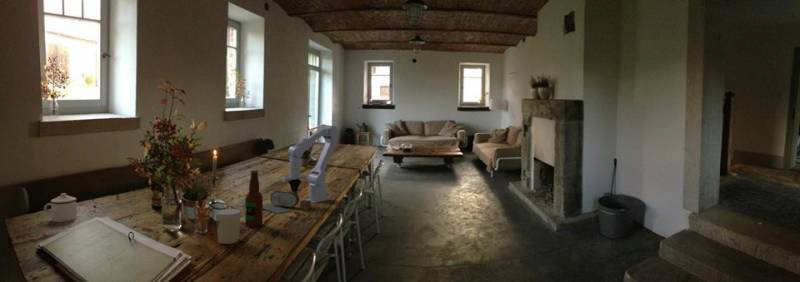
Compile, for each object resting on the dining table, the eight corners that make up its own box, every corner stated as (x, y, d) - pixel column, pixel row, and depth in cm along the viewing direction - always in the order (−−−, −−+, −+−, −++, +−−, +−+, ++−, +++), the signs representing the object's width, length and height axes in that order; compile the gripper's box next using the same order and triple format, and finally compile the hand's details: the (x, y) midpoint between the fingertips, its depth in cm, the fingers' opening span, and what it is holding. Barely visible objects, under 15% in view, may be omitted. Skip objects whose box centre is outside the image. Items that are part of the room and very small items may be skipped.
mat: (271, 204, 227) (271, 203, 227) (291, 211, 216) (291, 210, 216) (257, 206, 221) (257, 206, 221) (277, 214, 210) (277, 213, 210)
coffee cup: (220, 236, 174) (220, 208, 173) (243, 236, 175) (243, 208, 174) (212, 244, 165) (212, 214, 164) (236, 244, 166) (237, 215, 165)
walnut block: (304, 207, 226) (304, 199, 225) (310, 208, 224) (310, 200, 223) (299, 208, 222) (300, 201, 221) (306, 209, 220) (306, 202, 220)
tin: (298, 207, 224) (299, 191, 224) (296, 208, 221) (297, 192, 220) (271, 204, 225) (272, 188, 225) (269, 205, 222) (270, 189, 222)
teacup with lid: (81, 216, 192) (80, 191, 191) (70, 222, 183) (69, 196, 182) (50, 216, 189) (49, 191, 188) (38, 222, 181) (37, 196, 179)
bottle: (245, 223, 193) (245, 169, 190) (261, 222, 196) (262, 169, 193) (245, 228, 186) (245, 172, 184) (262, 227, 189) (263, 172, 186)
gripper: (301, 166, 234) (300, 190, 236) (279, 168, 223) (278, 193, 224) (309, 167, 230) (308, 192, 231) (287, 170, 219) (286, 196, 220)
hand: (294, 193), depth 227 cm, fingers closed
